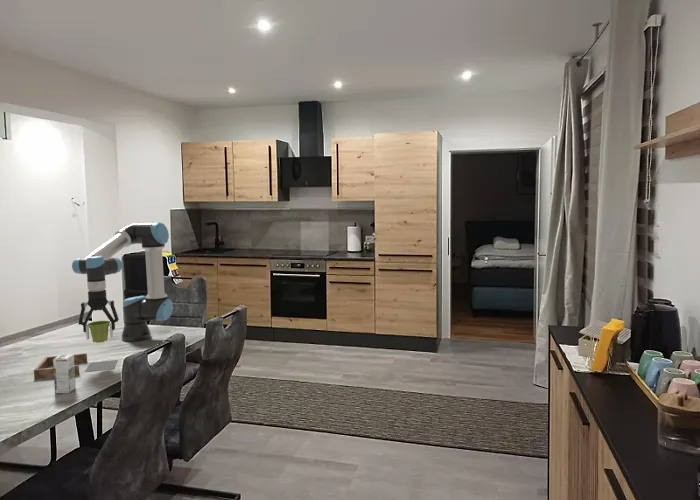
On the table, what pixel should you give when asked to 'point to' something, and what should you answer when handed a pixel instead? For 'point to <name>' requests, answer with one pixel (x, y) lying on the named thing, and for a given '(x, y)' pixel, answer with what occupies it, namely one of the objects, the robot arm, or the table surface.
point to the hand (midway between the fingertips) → (99, 337)
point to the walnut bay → (45, 372)
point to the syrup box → (64, 373)
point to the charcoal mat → (101, 365)
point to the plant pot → (99, 331)
